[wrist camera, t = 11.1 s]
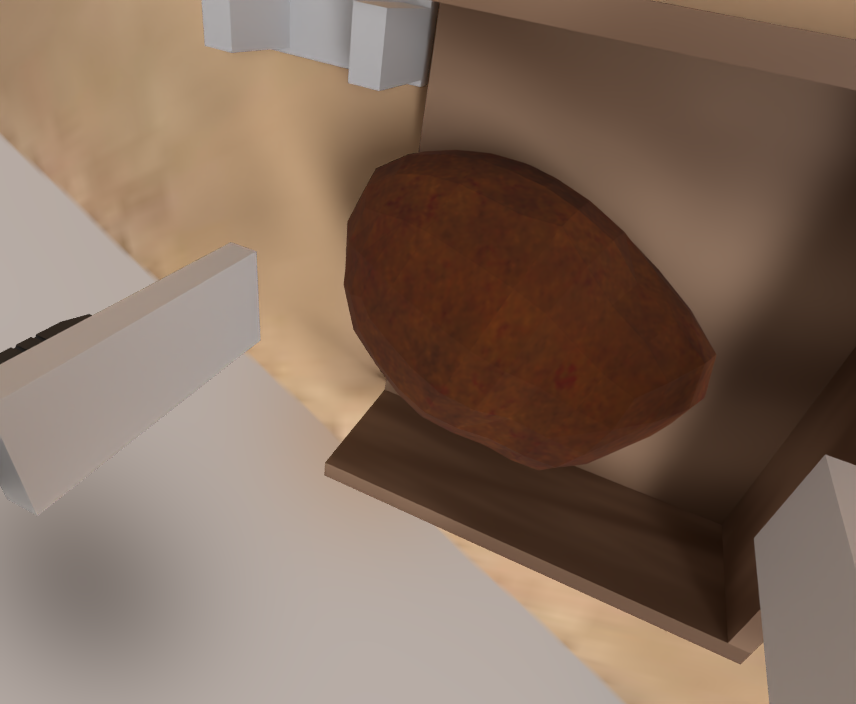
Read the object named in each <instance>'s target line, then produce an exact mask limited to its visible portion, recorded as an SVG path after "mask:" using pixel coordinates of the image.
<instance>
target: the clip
mask: <svg viewBox="0 0 856 704" xmlns="http://www.w3.org/2000/svg"><path fill="white" fill-rule="evenodd" d="M438 6H439V2H436V1H431V0H202V12H203V25H204V39H205V46H208V47H212V48H216V49H219V50H223V51H227V52H231V53H235V52H246V51H257V50H268V49H272V50H276V51H280V52H284V53H288V54H292V55H295V56H299V57H303V58H307V59H311V60H315V61H319V62H323V63H327V64H331V65H335V66H339V67H343V68H347V69H349V75H348V83H350V84H354V85H358V86H362V87H366V88H370V89H373V90H377V91H381V90H385V89H389V88H393V87H397V86H401V85H405V84H410V85H414V86H418V87H422V86H426V85H427V84H428V77H429V70H430V62H431V55H432V48H433V41H434V34H435V27H436V20H437V13H438Z"/></svg>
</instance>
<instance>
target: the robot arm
mask: <svg viewBox="0 0 856 704" xmlns="http://www.w3.org/2000/svg"><path fill="white" fill-rule="evenodd" d="M259 341H260V319H259V298H258V276H257V254H256V251H254V250H251V249H249V248H246V247H243V246H240V245H237V244H235V243H232V242H230V243H228V244H227V245H225V246H223V247H221V248H219V249H217V250H215V251H213V252H211V253H210V254H208V255H206V256H204V257H202V258H200V259H198V260H196V261H194V262H193V263H191V264H189V265H187V266H185V267H183V268H181V269H179V270H177V271H176V272H174V273H172V274H170V275H168V276H166V277H164V278H162V279H160V280H159V281H157V282H155V283H153V284H151V285H149V286H148V287H146V288H143V289H142V290H140V291H138V292H136V293H134V294H132V295H131V296H128V297H126V298H125V299H123V300H121V301H119V302H117V303H115V304H113V305H111V306H109V307H108V308H106V309H104V310H102V311H100V312H98V313H96V314H94V315H93V316H92V315H90V314H88V315H84V316H80V317H77V318H73V319H70V320H66V321H62V322H60V323H58V324H56V325H54V326H52V327H50V328H48V329H46V330H44V331H42V332H40V333H38V334H36V337H35V338H32V337H30V338H28V339H26V340H25V341H23V342H21V343H19V344H17V345H16V347H15V348H14V349H13V348H9V349H7V350H5V351H3V352H1V353H0V486H1V488H2V490H3V492H4V494H5V496H6V498H7V499H8V500H9V501H11V502H13V503H15V504H17V505H18V506H20V507H22V508H24V509H26V510H28V511H29V512H31V513H33V514H35V515H37V516H38V515H39V514H40V513H42V512H43V511H44V510H45V509H47V508H48V507H49V506H50V505H52V504H53V503H54V502H56V501H57V500H58V499H59V498H60V497H62V496H63V495H65V494H66V493H67V492H68V491H70V490H71V489H72V488H73V487H75V486H76V485H77V484H78V483H80V482H81V481H82V480H84V479H85V478H86V477H87V476H89V475H90V474H91V473H92V472H94V471H95V470H96V469H98V468H99V467H100V466H101V465H103V464H104V463H105V462H106V461H108V460H109V459H110V458H111V457H113V456H114V455H115V454H117V453H118V452H119V451H120V450H122V449H123V448H124V447H125V446H127V445H128V444H129V443H131V442H132V441H133V440H134V439H136V438H137V437H138V436H139V435H141V434H142V433H143V432H145V431H146V430H147V429H148V428H149V427H151V426H152V425H153V424H155V423H156V422H157V421H158V420H160V419H161V418H162V417H164V416H165V415H166V414H167V413H168V412H170V411H171V410H172V409H174V408H175V407H176V406H178V405H179V404H180V403H181V402H183V401H184V400H185V399H186V398H188V397H189V396H190V395H191V394H193V393H194V392H195V391H197V390H198V389H199V388H200V387H202V386H203V385H204V384H205V383H207V382H208V381H209V380H211V379H212V378H213V377H214V376H216V375H217V374H218V373H219V372H221V371H222V370H223V369H225V368H226V367H227V366H228V365H230V364H231V363H232V362H233V361H235V360H236V359H237V358H238V357H240V356H241V355H242V354H244V353H245V352H246V351H247V350H249V349H250V348H251V347H252V346H254V345H255V344H256V343H258V342H259ZM754 546H755V556H756V567H757V577H758V588H759V598H760V609H761V619H762V630H763V640H764V651H765V661H766V672H767V682H768V693H769V703H770V704H856V465H853V464H851V463H848V462H845V461H842V460H839V459H837V458H834V457H831V456H828V455H824V457H823V458H822V459H821V460H820V461H819V462H818V464H817V465H816V466H815V467H814V468H813V469H812V471H811V472H810V473H809V474H808V475H807V476H806V478H805V479H804V480H803V481H802V482H801V484H800V485H799V486H798V487H797V488H796V489H795V491H794V492H793V493H792V494H791V495H790V496H789V498H788V499H787V500H786V501H785V502H784V503H783V505H782V506H781V507H780V508H779V509H778V510H777V512H776V513H775V514H774V515H773V516H772V518H771V519H770V520H769V521H768V522H767V523H766V525H765V526H764V527H763V528H762V529H761V530H760V532H759V533H758V534H757V535H756V536H755V537H754Z"/></svg>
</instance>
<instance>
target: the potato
mask: <svg viewBox="0 0 856 704" xmlns="http://www.w3.org/2000/svg"><path fill="white" fill-rule="evenodd" d="M344 288H345V293H346V297H347V302H348V306H349V311H350V315H351V320H352V325H353V329H354V331H355V333H356V334H357V336H358V337H359V339H360V340H361V342H362V343H363V345H364V347H365V348H366V350H367V351H368V353H369V354H370V356H371V358H372V359H373V361H374V362H375V364H376V365H377V366H378V368H379V369H380V370H381V372H382V373H383V374H384V376H385V377H386V379H387V380H388V381H389V383H390V384H391V385H392V387H393V388H394V389H395V391H396V392H397V393H398V394H399V395H400V396H401V397H402V398H403V399H404V400H405V401H406V402H407V403H408V404H409V405H410V406H411V407H412V408H413V409H414V410H415V411H416V412H417V413H418V414H419V415H420V416H421V417H423V418H425V419H427V420H429V421H431V422H433V423H435V424H437V425H438V426H440V427H442V428H444V429H446V430H448V431H450V432H452V433H455V434H457V435H460V436H462V437H465V438H468V439H470V440H473V441H476V442H478V443H481V444H483V445H485V446H487V447H489V448H490V449H492V450H494V451H496V452H498V453H499V454H501V455H503V456H505V457H507V458H508V459H510V460H512V461H515V462H518V463H520V464H523V465H525V466H528V467H531V468H533V469H536V470H538V471H539V470H544V469H550V468H557V467H566V466H574V465H583V464H588V463H590V462H593V461H595V460H597V459H600V458H602V457H604V456H606V455H609V454H611V453H613V452H616V451H618V450H620V449H622V448H625V447H627V446H629V445H632V444H634V443H636V442H638V441H641V440H643V439H645V438H648V437H650V436H652V435H653V434H655V433H657V432H658V431H660V430H662V429H663V428H665V427H667V426H668V425H670V424H671V423H673V422H674V421H675V420H676V419H678V418H679V417H680V416H682V415H683V414H684V413H686V412H687V411H688V410H689V409H691V408H692V407H693V406H695V405H696V404H697V403H699V402H700V401H701V400H702V399H704V398H705V395H706V391H707V387H708V384H709V380H710V376H711V373H712V369H713V365H714V362H715V358H716V353H715V351H714V349H713V347H712V346H711V344H710V342H709V340H708V339H707V337H706V335H705V333H704V332H703V330H702V328H701V326H700V325H699V323H698V321H697V319H696V318H695V316H694V314H693V312H692V311H691V309H690V308H689V307H688V305H687V304H686V303H685V302H684V300H683V299H682V298H681V297H680V296H679V294H678V293H677V292H676V291H675V289H674V288H673V287H672V286H671V284H670V283H669V282H668V281H667V279H666V278H665V277H664V276H663V274H662V273H661V272H660V271H659V269H658V268H657V267H656V266H655V265H654V264H653V263H652V262H651V261H650V260H649V259H648V258H647V257H646V256H645V255H644V254H643V252H642V251H641V250H640V249H639V248H638V247H637V246H636V245H635V244H634V243H633V242H632V241H631V240H630V238H629V237H628V236H627V234H626V233H625V232H624V231H623V230H622V229H621V228H620V227H619V226H617V225H616V224H615V223H614V222H613V221H612V220H611V219H610V218H609V217H608V216H606V215H605V214H604V213H603V212H602V211H601V210H600V209H599V208H598V207H597V206H595V205H594V204H593V203H592V202H591V201H590V200H588V199H587V198H585V197H584V196H582V195H581V194H579V193H578V192H576V191H575V190H573V189H572V188H570V187H569V186H567V185H566V184H564V183H563V182H561V181H560V180H558V179H557V178H555V177H553V176H551V175H549V174H547V173H545V172H543V171H541V170H539V169H537V168H535V167H533V166H531V165H529V164H526V163H523V162H520V161H516V160H513V159H509V158H506V157H503V156H499V155H496V154H492V153H484V152H474V151H464V150H441V151H423V152H418V153H413V154H408V155H406V156H403V157H401V158H399V159H397V160H394V161H392V162H390V163H388V164H385V165H383V166H381V167H379V168H376V170H375V172H374V173H373V175H372V177H371V179H370V180H369V182H368V184H367V186H366V188H365V190H364V191H363V193H362V195H361V197H360V199H359V201H358V203H357V205H356V207H355V209H354V210H353V212H352V214H351V216H350V218H349V220H348V223H347V246H346V269H345V278H344Z"/></svg>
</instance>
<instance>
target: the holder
mask: <svg viewBox="0 0 856 704" xmlns="http://www.w3.org/2000/svg"><path fill="white" fill-rule="evenodd" d="M431 1H436V2H440V6H439V13H438V20H437V27H436V34H435V41H434V48H433V55H432V62H431V69H430V76H429V83H428V90H427V97H426V104H425V111H424V118H423V125H422V132H421V139H420V146H419V152H423V151H441V150H464V151H474V152H484V153H492V154H496V155H499V156H503V157H506V158H509V159H513V160H516V161H520V162H523V163H526V164H529V165H531V166H533V167H535V168H537V169H539V170H541V171H543V172H545V173H547V174H549V175H551V176H553V177H555V178H557V179H558V180H560V181H561V182H563V183H564V184H566V185H567V186H569V187H570V188H572V189H573V190H575V191H576V192H578V193H579V194H581V195H582V196H584V197H585V198H587V199H588V200H590V201H591V202H592V203H593V204H594V205H595V206H597V207H598V208H599V209H600V210H601V211H602V212H603V213H604V214H605V215H606V216H608V217H609V218H610V219H611V220H612V221H613V222H614V223H615V224H616V225H617V226H619V227H620V228H621V229H622V230H623V231H624V232H625V233H626V234H627V236H628V237H629V238H630V240H631V241H632V242H633V243H634V244H635V245H636V246H637V247H638V248H639V249H640V250H641V251H642V252H643V254H644V255H645V256H646V257H647V258H648V259H649V260H650V261H651V262H652V263H653V264H654V265H655V266H656V267H657V268H658V269H659V271H660V272H661V273H662V274H663V276H664V277H665V278H666V279H667V281H668V282H669V283H670V284H671V286H672V287H673V288H674V289H675V291H676V292H677V293H678V294H679V296H680V297H681V298H682V299H683V300H684V302H685V303H686V304H687V305H688V307H689V308H690V309H691V311H692V312H693V314H694V316H695V318H696V319H697V321H698V323H699V325H700V326H701V328H702V330H703V332H704V333H705V335H706V337H707V339H708V340H709V342H710V344H711V346H712V347H713V349H714V351H715V353H716V358H715V362H714V365H713V369H712V373H711V376H710V380H709V384H708V387H707V391H706V395H705V398H704V399H702V400H701V401H700V402H699V403H697V404H696V405H695V406H693V407H692V408H691V409H689V410H688V411H687V412H686V413H684V414H683V415H682V416H680V417H679V418H678V419H676V420H675V421H674V422H673V423H671V424H670V425H668V426H667V427H665V428H663V429H662V430H660V431H658V432H657V433H655V434H653V435H652V436H650V437H648V438H645V439H643V440H641V441H638V442H636V443H634V444H632V445H629V446H627V447H625V448H622V449H620V450H618V451H616V452H613V453H611V454H609V455H606V456H604V457H602V458H600V459H597V460H595V461H593V462H590V463H588V464H583V465H574V466H566V467H557V468H550V469H544V470H539V471H538V470H536V469H533V468H531V467H528V466H525V465H523V464H520V463H518V462H515V461H512V460H510V459H508V458H507V457H505V456H503V455H501V454H499V453H498V452H496V451H494V450H492V449H490V448H489V447H487V446H485V445H483V444H481V443H478V442H476V441H473V440H470V439H468V438H465V437H462V436H460V435H457V434H455V433H452V432H450V431H448V430H446V429H444V428H442V427H440V426H438V425H437V424H435V423H433V422H431V421H429V420H427V419H425V418H423V417H421V416H420V415H419V414H418V413H417V412H416V411H415V410H414V409H413V408H412V407H411V406H410V405H409V404H408V403H407V402H406V401H405V400H404V399H403V398H402V397H401V396H400V395H399V394H398V393H397V392H396V391H395V389H394V388H393V387H392V385H391V384H390V383H389V381H388V380H387V379H386V385H385V390H384V391H383V393H382V394H381V395H380V396H379V397H378V399H377V400H376V401H375V402H374V404H373V405H372V406H371V407H370V408H369V410H368V411H367V412H366V413H365V415H364V416H363V417H362V418H361V419H360V421H359V422H358V423H357V424H356V426H355V427H354V428H353V429H352V430H351V432H350V433H349V434H348V435H347V437H346V438H345V439H344V440H343V441H342V443H341V444H340V445H339V446H338V448H337V449H336V450H335V451H334V452H333V454H332V455H331V456H330V457H329V459H328V460H327V461H326V462H325V474H324V475H325V476H327V477H330V478H332V479H334V480H336V481H339V482H341V483H343V484H345V485H347V486H349V487H352V488H354V489H356V490H358V491H360V492H363V493H365V494H367V495H369V496H371V497H374V498H376V499H378V500H380V501H382V502H385V503H387V504H389V505H391V506H393V507H396V508H398V509H400V510H402V511H404V512H407V513H409V514H411V515H413V516H415V517H418V518H420V519H422V520H424V521H426V522H429V523H431V524H433V525H435V526H437V527H439V528H442V529H444V530H446V531H448V532H450V533H453V534H455V535H457V536H459V537H461V538H464V539H466V540H468V541H470V542H472V543H475V544H477V545H479V546H481V547H483V548H486V549H488V550H490V551H492V552H494V553H497V554H499V555H501V556H503V557H505V558H508V559H510V560H512V561H514V562H516V563H519V564H521V565H523V566H525V567H527V568H530V569H532V570H534V571H536V572H538V573H541V574H543V575H545V576H547V577H549V578H552V579H554V580H556V581H558V582H560V583H563V584H565V585H567V586H569V587H571V588H574V589H576V590H578V591H580V592H582V593H585V594H587V595H589V596H591V597H593V598H596V599H598V600H600V601H602V602H604V603H606V604H609V605H611V606H613V607H615V608H617V609H620V610H622V611H624V612H626V613H628V614H631V615H633V616H635V617H637V618H639V619H642V620H644V621H646V622H648V623H650V624H653V625H655V626H657V627H659V628H661V629H664V630H666V631H668V632H670V633H672V634H675V635H677V636H679V637H681V638H683V639H686V640H688V641H690V642H692V643H694V644H697V645H699V646H701V647H703V648H705V649H708V650H710V651H712V652H714V653H716V654H719V655H721V656H723V657H725V658H727V659H730V660H732V661H734V662H736V663H738V664H741V663H742V662H743V661H744V660H745V659H747V658H748V657H749V656H750V655H751V654H752V653H753V652H754V651H755V650H756V649H757V648H758V647H759V646H760V645H761V644H762V643H763V642H764V640H763V630H762V619H761V609H760V598H759V588H758V577H757V567H756V556H755V546H754V537H755V536H756V535H757V534H758V533H759V532H760V530H761V529H762V528H763V527H764V526H765V525H766V523H767V522H768V521H769V520H770V519H771V518H772V516H773V515H774V514H775V513H776V512H777V510H778V509H779V508H780V507H781V506H782V505H783V503H784V502H785V501H786V500H787V499H788V498H789V496H790V495H791V494H792V493H793V492H794V491H795V489H796V488H797V487H798V486H799V485H800V484H801V482H802V481H803V480H804V479H805V478H806V476H807V475H808V474H809V473H810V472H811V471H812V469H813V468H814V467H815V466H816V465H817V464H818V462H819V461H820V460H821V459H822V458H823V457H824V455H828V456H831V457H834V458H837V459H839V460H842V461H845V462H848V463H851V464H853V465H856V40H854V39H849V38H844V37H839V36H833V35H828V34H823V33H818V32H813V31H807V30H802V29H797V28H792V27H786V26H781V25H776V24H771V23H766V22H760V21H755V20H750V19H745V18H739V17H734V16H729V15H724V14H719V13H713V12H708V11H703V10H698V9H692V8H687V7H682V6H677V5H672V4H666V3H661V2H656V1H651V0H431Z"/></svg>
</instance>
